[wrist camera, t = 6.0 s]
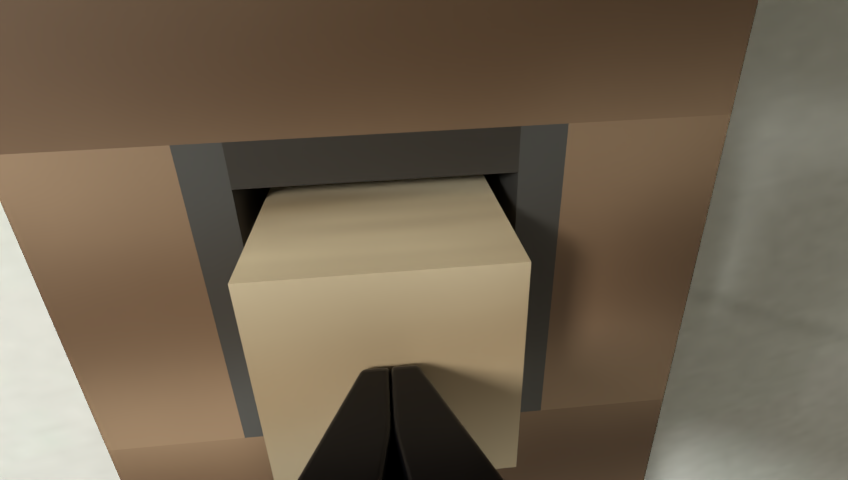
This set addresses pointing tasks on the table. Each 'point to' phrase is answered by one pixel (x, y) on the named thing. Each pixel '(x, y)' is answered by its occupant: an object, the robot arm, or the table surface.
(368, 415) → the robot arm
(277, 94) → the band block
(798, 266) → the table surface
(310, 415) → the peg
